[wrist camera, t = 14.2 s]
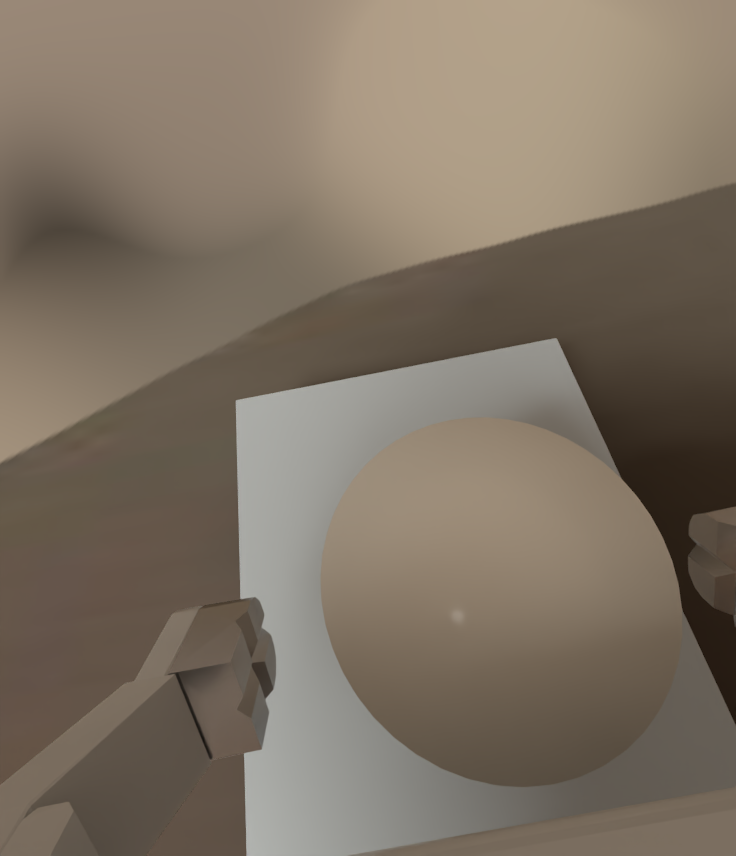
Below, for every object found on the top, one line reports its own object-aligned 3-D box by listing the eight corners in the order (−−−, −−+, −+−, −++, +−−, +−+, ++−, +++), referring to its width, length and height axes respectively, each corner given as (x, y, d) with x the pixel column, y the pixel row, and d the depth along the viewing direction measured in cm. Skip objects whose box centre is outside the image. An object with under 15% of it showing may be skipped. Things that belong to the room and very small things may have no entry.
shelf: (762, 948, 13) (889, 1058, 10) (298, 1027, 13) (254, 1161, 10) (534, 388, 22) (556, 337, 19) (264, 440, 23) (235, 400, 19)
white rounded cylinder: (555, 691, 13) (763, 747, 5) (389, 722, 13) (345, 822, 5) (504, 528, 15) (593, 392, 8) (363, 554, 16) (305, 447, 8)
